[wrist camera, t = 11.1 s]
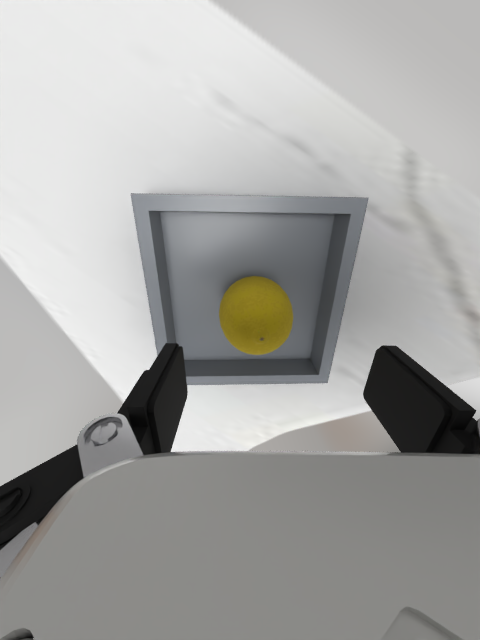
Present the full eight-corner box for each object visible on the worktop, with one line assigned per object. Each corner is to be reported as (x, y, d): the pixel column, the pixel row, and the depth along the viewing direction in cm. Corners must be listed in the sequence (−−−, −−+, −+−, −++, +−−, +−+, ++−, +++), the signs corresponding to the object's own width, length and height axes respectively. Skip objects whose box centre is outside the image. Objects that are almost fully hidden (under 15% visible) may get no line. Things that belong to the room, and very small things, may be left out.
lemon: (233, 331, 22) (235, 386, 15) (212, 279, 20) (200, 314, 13) (287, 313, 22) (315, 360, 14) (270, 257, 19) (294, 281, 12)
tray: (344, 201, 18) (368, 197, 15) (315, 362, 25) (327, 383, 22) (148, 197, 18) (130, 193, 15) (171, 363, 24) (162, 385, 21)
